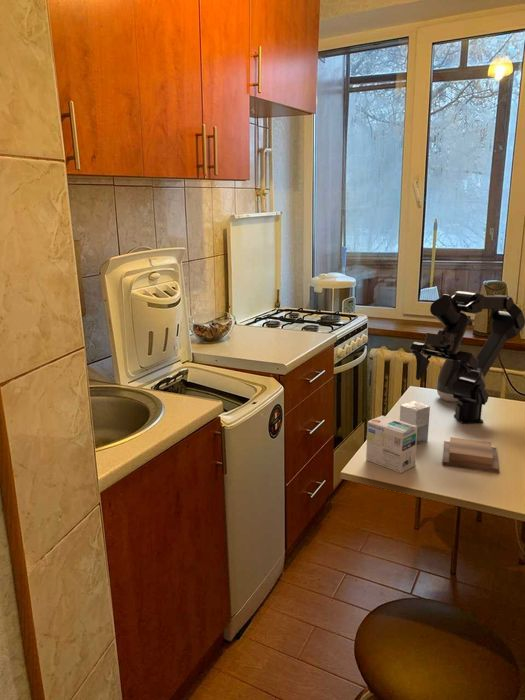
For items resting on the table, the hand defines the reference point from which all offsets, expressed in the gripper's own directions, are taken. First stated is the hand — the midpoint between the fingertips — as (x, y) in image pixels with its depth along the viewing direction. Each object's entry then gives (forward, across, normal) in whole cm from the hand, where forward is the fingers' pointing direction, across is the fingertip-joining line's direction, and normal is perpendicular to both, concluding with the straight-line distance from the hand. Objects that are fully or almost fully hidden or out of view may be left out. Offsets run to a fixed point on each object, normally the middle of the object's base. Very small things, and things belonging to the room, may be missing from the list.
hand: (431, 383), depth 148 cm
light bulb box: (+25, +4, -8) cm, 27 cm away
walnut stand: (+15, +15, +6) cm, 22 cm away
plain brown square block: (+16, -2, +5) cm, 17 cm away
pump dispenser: (-5, -14, +36) cm, 39 cm away
